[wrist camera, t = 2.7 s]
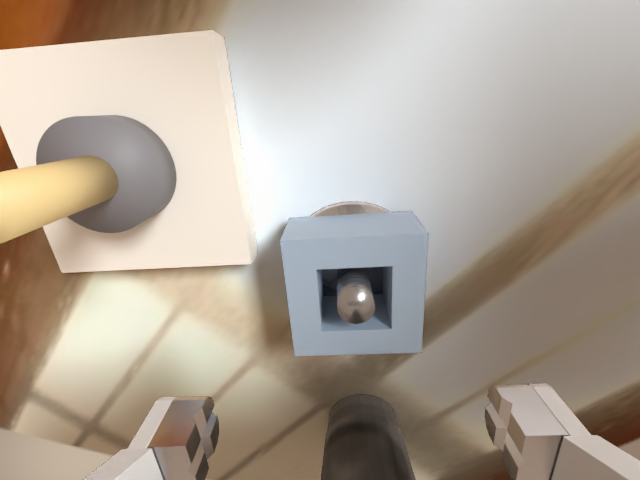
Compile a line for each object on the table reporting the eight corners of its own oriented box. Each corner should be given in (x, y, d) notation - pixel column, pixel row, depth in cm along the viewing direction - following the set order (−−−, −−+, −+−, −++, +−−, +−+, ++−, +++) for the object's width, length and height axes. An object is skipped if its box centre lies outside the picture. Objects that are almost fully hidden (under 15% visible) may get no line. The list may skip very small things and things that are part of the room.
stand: (419, 197, 16) (446, 225, 12) (414, 315, 19) (435, 370, 15) (280, 205, 17) (263, 235, 13) (294, 320, 19) (283, 374, 15)
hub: (224, 37, 14) (97, -43, 6) (258, 251, 18) (202, 356, 10) (5, 58, 15) (-338, 7, 7) (82, 260, 18) (-90, 364, 11)
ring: (411, 211, 16) (428, 233, 13) (408, 314, 18) (421, 352, 15) (289, 218, 16) (279, 240, 13) (300, 318, 18) (294, 356, 16)
